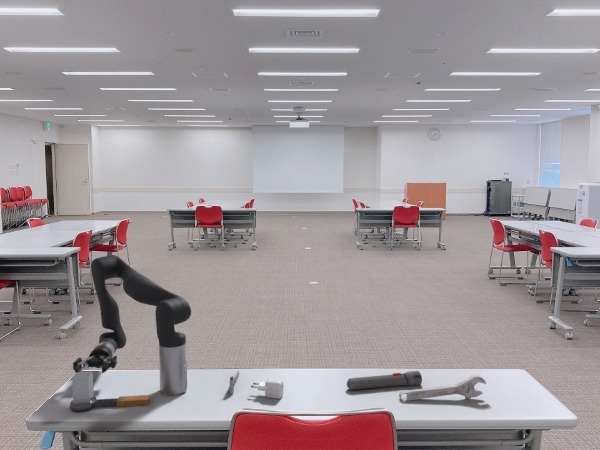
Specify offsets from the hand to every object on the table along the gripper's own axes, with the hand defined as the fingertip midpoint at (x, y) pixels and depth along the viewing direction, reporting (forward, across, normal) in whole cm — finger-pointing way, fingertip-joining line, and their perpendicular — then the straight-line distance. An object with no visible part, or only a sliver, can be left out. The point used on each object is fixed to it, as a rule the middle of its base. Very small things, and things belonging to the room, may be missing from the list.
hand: (90, 370), depth 167 cm
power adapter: (+9, +61, +9) cm, 62 cm away
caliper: (-4, +50, +10) cm, 51 cm away
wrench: (+20, +121, +9) cm, 123 cm away
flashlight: (+7, +104, +10) cm, 105 cm away
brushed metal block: (+8, 0, +7) cm, 11 cm away
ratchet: (+9, +9, +9) cm, 15 cm away
